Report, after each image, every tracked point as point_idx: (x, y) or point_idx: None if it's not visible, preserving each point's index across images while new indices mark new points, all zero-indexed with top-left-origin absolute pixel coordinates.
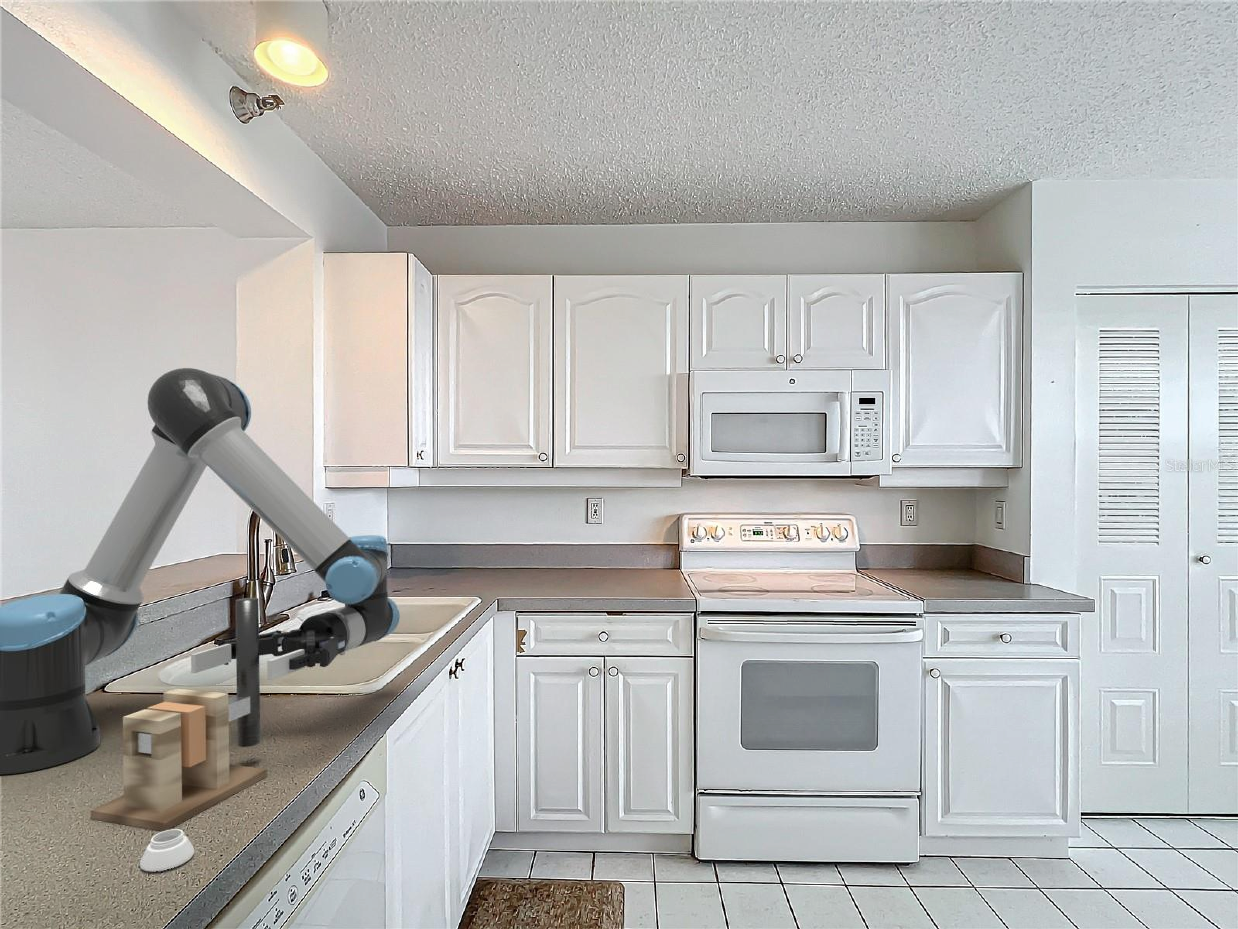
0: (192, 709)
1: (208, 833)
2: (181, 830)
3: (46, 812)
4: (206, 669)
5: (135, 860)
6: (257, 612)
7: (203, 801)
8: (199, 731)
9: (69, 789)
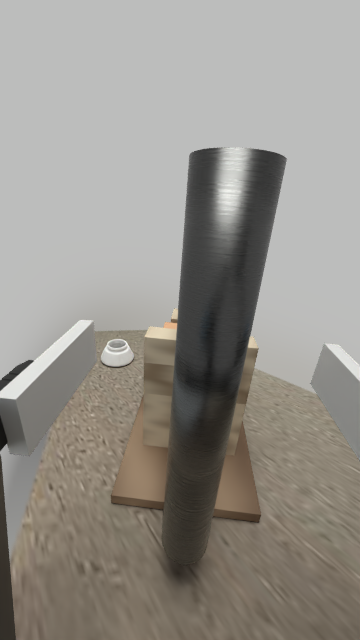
0: (169, 326)
1: (109, 383)
2: (111, 347)
3: (286, 396)
4: (325, 406)
5: (141, 358)
6: (186, 220)
7: (142, 405)
8: None
9: (336, 433)
